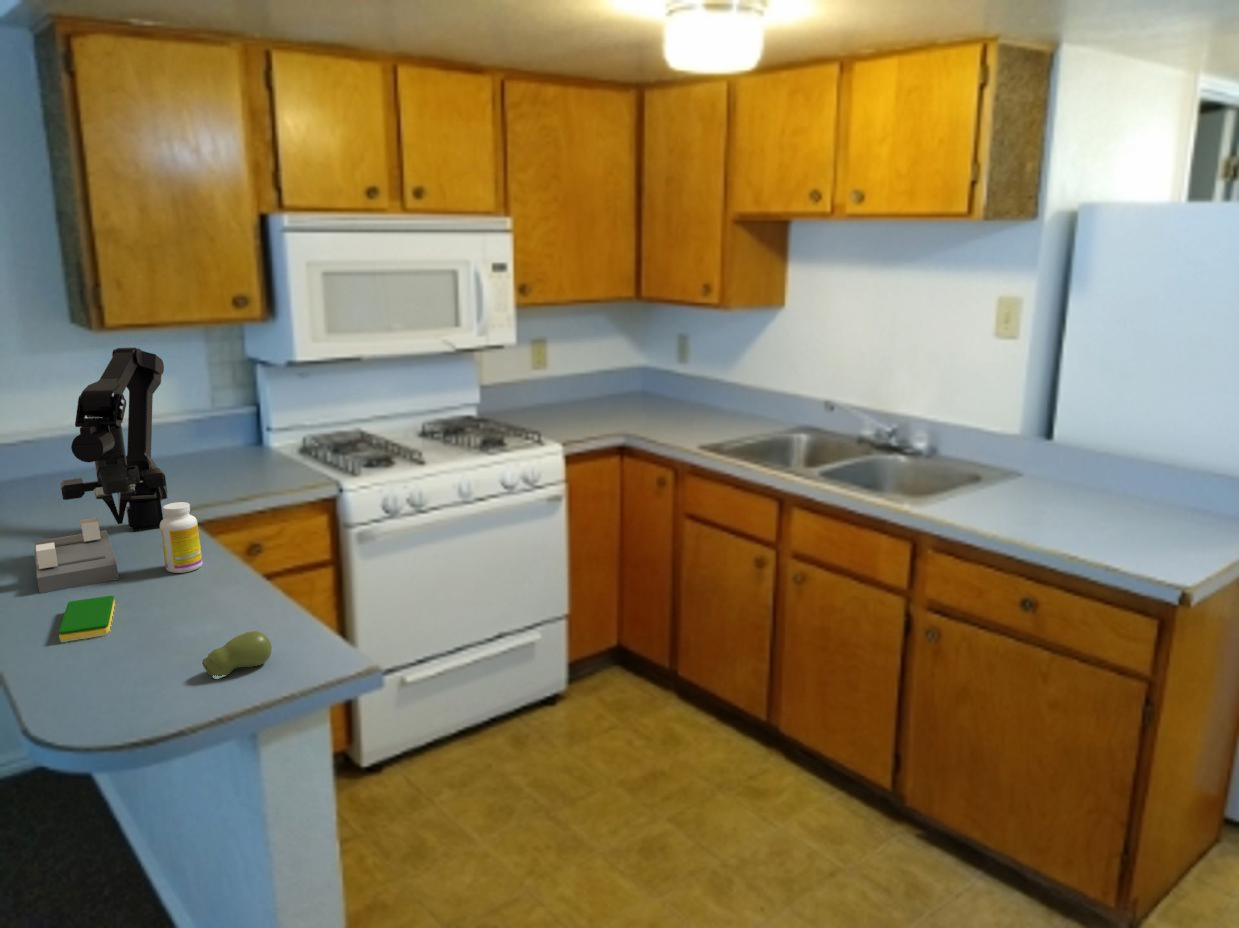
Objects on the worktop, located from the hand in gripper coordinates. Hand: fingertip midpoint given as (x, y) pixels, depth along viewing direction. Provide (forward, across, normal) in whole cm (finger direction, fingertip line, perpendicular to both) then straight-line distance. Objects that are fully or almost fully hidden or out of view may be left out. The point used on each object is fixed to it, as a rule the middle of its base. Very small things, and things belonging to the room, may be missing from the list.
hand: (119, 523), depth 196 cm
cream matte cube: (+2, -5, 0) cm, 6 cm away
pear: (+6, +10, -70) cm, 71 cm away
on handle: (+2, -14, -13) cm, 19 cm away
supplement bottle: (+6, +9, -19) cm, 22 cm away
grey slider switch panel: (+6, -9, -6) cm, 12 cm away
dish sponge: (+6, -9, -38) cm, 40 cm away
